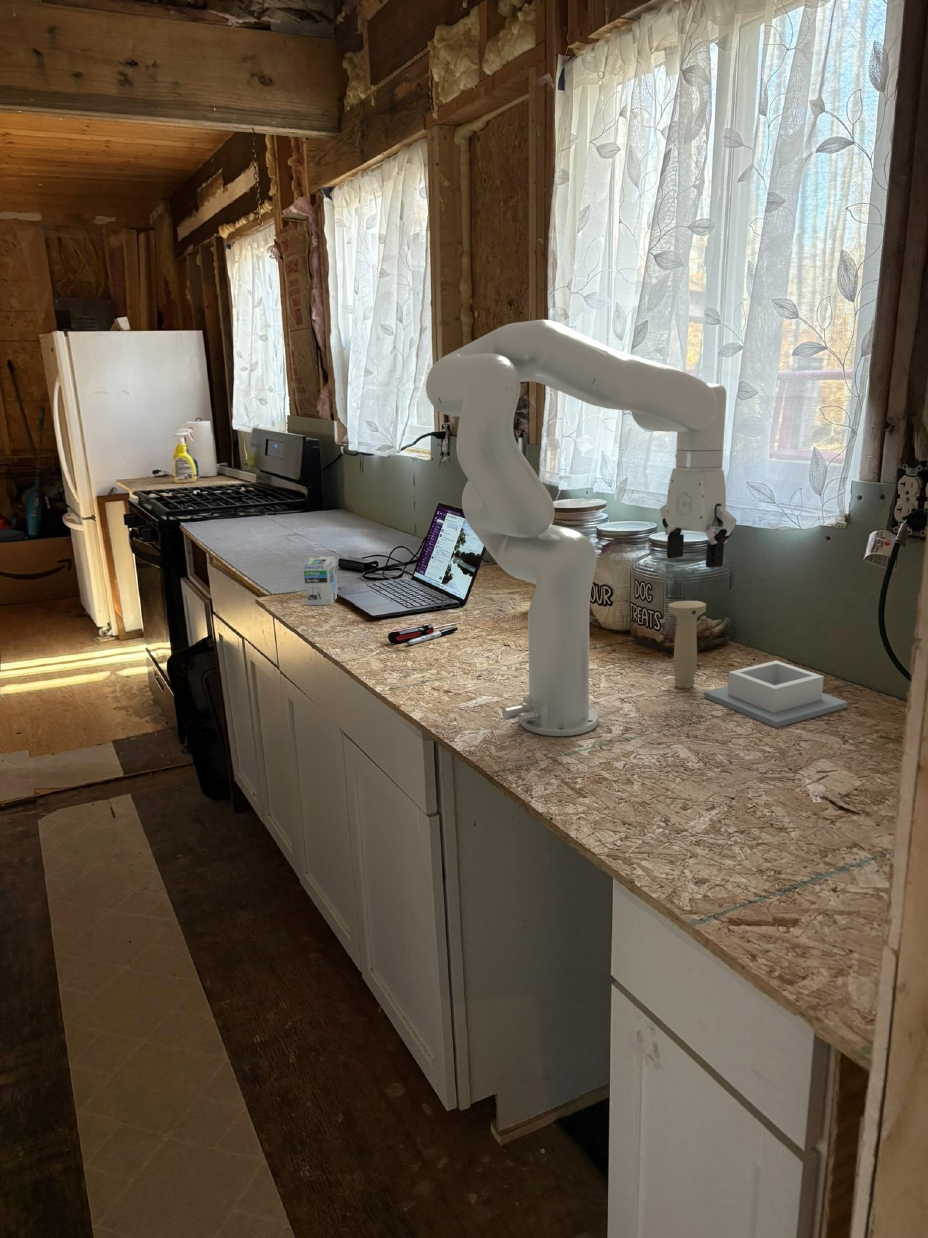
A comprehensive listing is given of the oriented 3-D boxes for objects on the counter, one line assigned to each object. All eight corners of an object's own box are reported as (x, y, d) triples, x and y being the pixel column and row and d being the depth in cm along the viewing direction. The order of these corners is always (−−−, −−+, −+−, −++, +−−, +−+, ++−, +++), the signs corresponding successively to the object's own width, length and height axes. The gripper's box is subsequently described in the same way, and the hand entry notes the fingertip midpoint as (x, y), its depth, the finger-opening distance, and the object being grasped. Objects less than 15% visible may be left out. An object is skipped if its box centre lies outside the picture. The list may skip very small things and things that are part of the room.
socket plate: (776, 728, 135) (778, 697, 134) (703, 697, 149) (704, 669, 148) (847, 707, 142) (849, 678, 141) (771, 680, 156) (773, 653, 155)
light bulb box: (332, 605, 219) (329, 563, 217) (305, 606, 220) (302, 564, 217) (338, 595, 230) (336, 555, 227) (313, 596, 230) (310, 555, 227)
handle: (707, 688, 153) (711, 606, 149) (674, 692, 152) (677, 609, 148) (693, 680, 158) (697, 599, 154) (661, 684, 156) (663, 602, 152)
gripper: (647, 458, 150) (644, 556, 155) (719, 465, 135) (713, 573, 140) (681, 456, 154) (676, 552, 158) (754, 462, 139) (747, 568, 143)
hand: (693, 562), depth 149 cm, fingers open, 9 cm apart
